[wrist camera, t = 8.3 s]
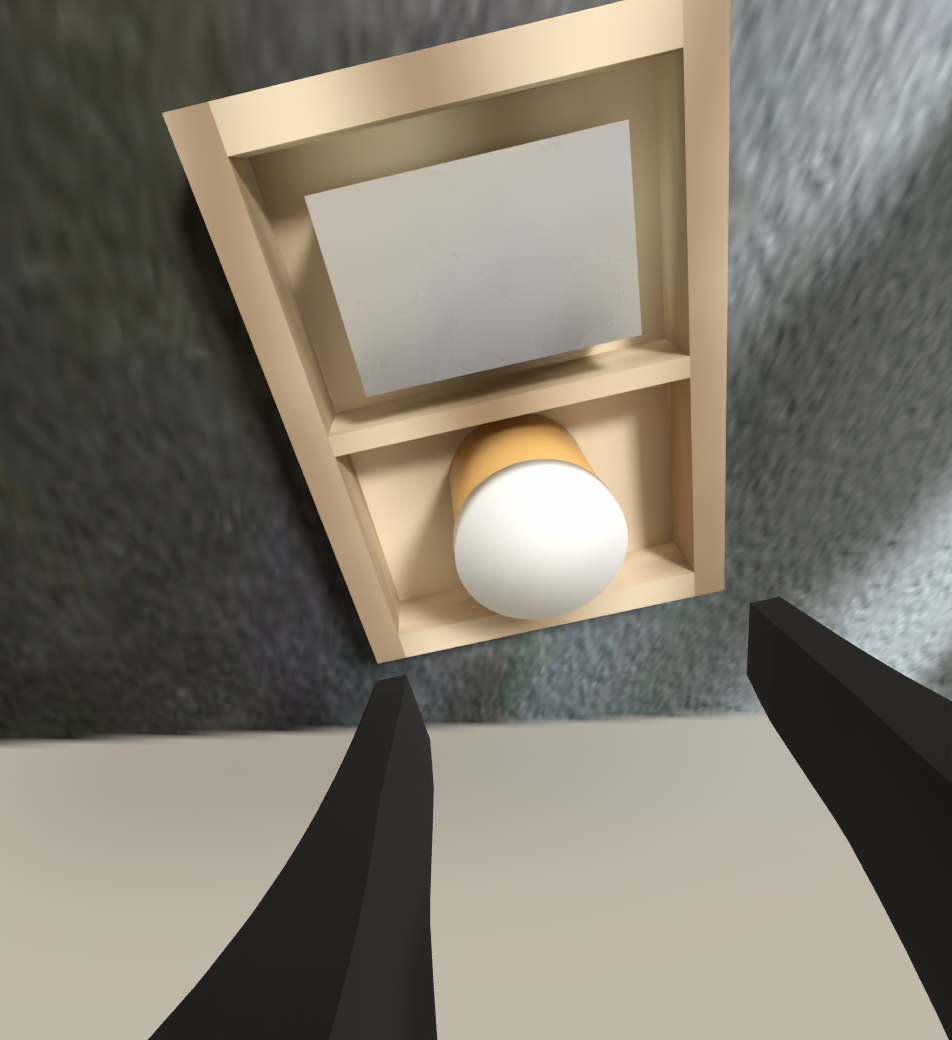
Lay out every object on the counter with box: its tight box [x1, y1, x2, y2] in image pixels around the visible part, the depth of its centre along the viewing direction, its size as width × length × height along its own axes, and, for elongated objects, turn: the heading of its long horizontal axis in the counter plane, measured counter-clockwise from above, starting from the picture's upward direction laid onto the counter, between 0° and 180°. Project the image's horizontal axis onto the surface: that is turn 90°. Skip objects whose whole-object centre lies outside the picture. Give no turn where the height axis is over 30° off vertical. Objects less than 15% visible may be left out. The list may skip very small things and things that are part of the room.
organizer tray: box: [162, 0, 731, 663], centre depth 18 cm, size 12×16×2 cm
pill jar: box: [450, 413, 628, 620], centre depth 18 cm, size 5×5×4 cm
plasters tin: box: [304, 119, 642, 397], centre depth 15 cm, size 7×5×2 cm, turn 102°
